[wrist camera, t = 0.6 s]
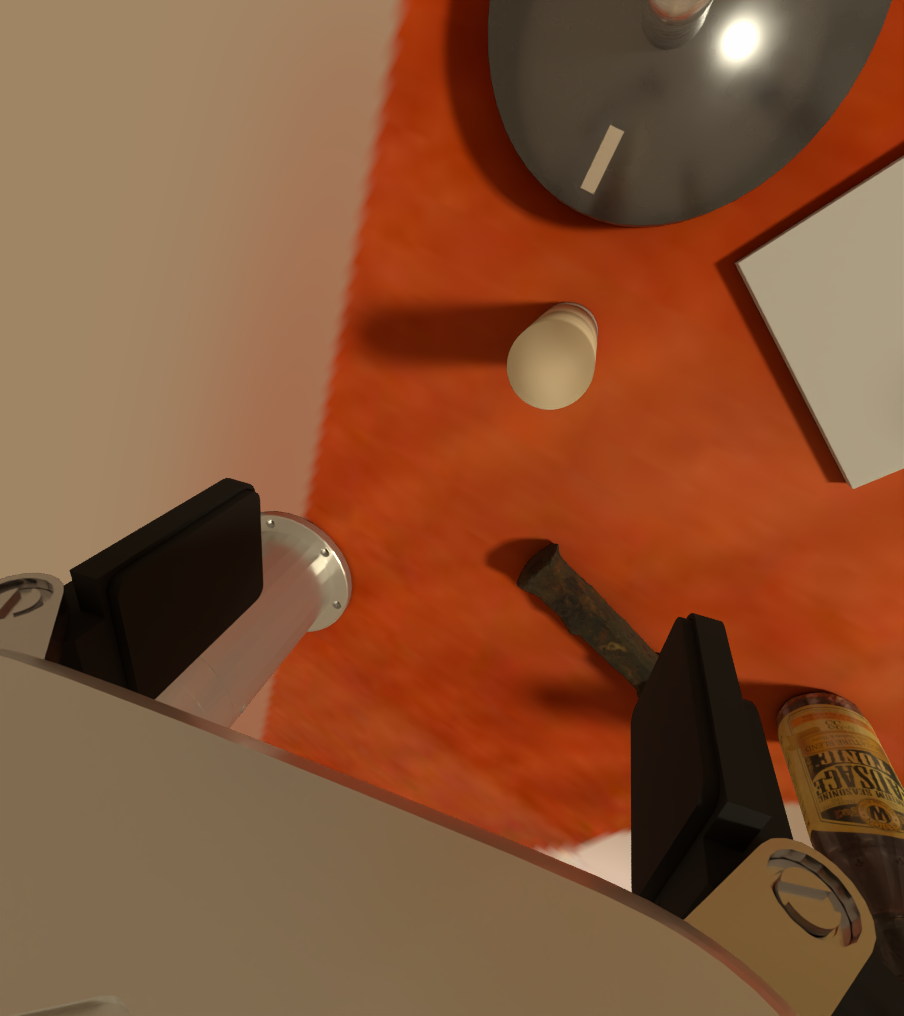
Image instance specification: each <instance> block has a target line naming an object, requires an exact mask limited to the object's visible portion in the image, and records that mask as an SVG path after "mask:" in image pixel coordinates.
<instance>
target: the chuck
mask: <svg viewBox="0 0 904 1016" xmlns="http://www.w3.org/2000/svg"><path fill="white" fill-rule="evenodd" d="M891 1H892V0H490V5H489V16H488V55H489V64H490V73H491V81H492V86H493V90H494V95H495V99H496V104H497V107H498V110H499V113H500V116H501V119H502V121H503V124H504V127H505V130H506V132H507V134H508V136H509V138H510V140H511V142H512V144H513V146H514V148H515V150H516V152H517V153H518V155H519V156H520V158H521V159H522V161H523V162H524V164H525V165H526V167H527V168H528V170H529V171H530V172H531V173H532V174H533V175H534V177H535V178H536V179H537V180H538V181H539V182H540V183H541V184H542V186H543V187H544V188H545V189H546V190H547V191H548V192H549V193H550V194H552V195H553V196H554V197H555V198H556V199H558V200H559V201H560V202H561V203H562V204H564V205H566V206H567V207H569V208H571V209H572V210H574V211H576V212H577V213H579V214H581V215H584V216H586V217H588V218H591V219H593V220H596V221H599V222H603V223H607V224H611V225H615V226H623V227H635V228H642V227H659V226H665V225H670V224H675V223H680V222H683V221H686V220H690V219H693V218H696V217H699V216H702V215H704V214H707V213H709V212H711V211H713V210H715V209H717V208H720V207H722V206H724V205H726V204H728V203H730V202H732V201H735V200H736V199H738V198H740V197H741V196H743V195H745V194H746V193H748V192H749V191H751V190H753V189H754V188H756V187H758V186H759V185H761V184H762V183H763V182H765V181H766V180H767V179H768V178H770V177H771V176H772V175H774V174H775V173H776V172H778V171H779V170H780V169H781V168H783V167H784V166H785V165H786V164H787V163H788V162H789V161H790V160H791V159H792V158H794V157H795V156H796V155H797V154H798V153H799V152H800V151H801V150H802V149H803V148H804V147H805V146H806V145H807V144H808V143H809V142H810V141H811V140H812V138H813V137H814V136H815V135H816V134H817V133H818V132H819V130H820V129H821V128H822V127H823V126H824V125H825V124H826V122H827V121H828V120H829V119H830V117H831V116H832V114H833V113H834V112H835V110H836V109H837V108H838V106H839V105H840V103H841V102H842V101H843V99H844V98H845V96H846V95H847V94H848V92H849V90H850V89H851V87H852V85H853V84H854V82H855V80H856V79H857V77H858V75H859V73H860V72H861V70H862V68H863V67H864V65H865V63H866V61H867V59H868V57H869V55H870V53H871V51H872V48H873V46H874V44H875V42H876V40H877V38H878V36H879V33H880V31H881V29H882V26H883V24H884V21H885V18H886V15H887V12H888V9H889V6H890V4H891Z"/></svg>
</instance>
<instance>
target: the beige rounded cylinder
mask: <svg viewBox="0 0 904 1016" xmlns="http://www.w3.org/2000/svg"><path fill="white" fill-rule="evenodd" d="M597 337H598V327H597V322H596V319H595V317H594V316H593V314H592V313H591V312H590V310H589V309H587V308H586V307H585V306H583V305H581V304H579V303H575V302H562V303H559V304H556V305H554V306H552V307H551V308H550V309H548V310H547V311H546V312H545V313H544V314H543V315H541V316H540V317H539V318H538V319H537V320H536V321H535V322H534V323H532V324H531V325H530V326H529V327H528V328H527V329H526V330H525V331H523V332H522V333H521V334H520V335H519V336H518V337H517V339H516V340H515V341H514V343H513V345H512V347H511V349H510V352H509V355H508V359H507V374H508V379H509V382H510V384H511V386H512V388H513V390H514V391H515V393H516V394H517V395H518V396H519V397H520V398H521V399H522V400H523V401H524V402H526V403H527V404H529V405H531V406H533V407H536V408H540V409H548V410H552V409H559V408H563V407H565V406H568V405H570V404H572V403H573V402H575V401H576V400H578V399H579V398H580V397H581V396H582V395H583V394H584V393H585V391H586V390H587V388H588V387H589V385H590V383H591V381H592V378H593V375H594V369H595V359H596V348H597Z"/></svg>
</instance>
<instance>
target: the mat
mask: <svg viewBox="0 0 904 1016" xmlns="http://www.w3.org/2000/svg"><path fill="white" fill-rule="evenodd" d="M735 265H736V267H737V269H738V271H739V273H740V275H741V277H742V279H743V281H744V283H745V285H746V287H747V289H748V291H749V293H750V295H751V297H752V299H753V300H754V302H755V304H756V306H757V308H758V310H759V312H760V314H761V316H762V318H763V320H764V322H765V324H766V326H767V328H768V330H769V332H770V334H771V336H772V338H773V340H774V342H775V344H776V346H777V348H778V350H779V351H780V353H781V355H782V357H783V359H784V361H785V363H786V365H787V367H788V369H789V371H790V373H791V375H792V377H793V379H794V381H795V383H796V385H797V387H798V389H799V391H800V393H801V395H802V397H803V399H804V401H805V402H806V404H807V406H808V408H809V410H810V412H811V414H812V416H813V418H814V420H815V422H816V424H817V426H818V428H819V430H820V432H821V434H822V436H823V438H824V440H825V442H826V444H827V446H828V448H829V450H830V452H831V454H832V455H833V457H834V459H835V461H836V463H837V465H838V467H839V469H840V471H841V473H842V475H843V477H844V479H845V481H846V483H847V484H848V485H849V486H850V487H851V488H852V489H854V488H857V487H859V486H862V485H864V484H867V483H869V482H871V481H874V480H876V479H879V478H881V477H884V476H886V475H888V474H891V473H893V472H896V471H898V470H901V469H903V468H904V155H903V156H902V157H900V158H899V159H897V160H895V161H894V162H892V163H891V164H889V165H888V166H886V167H885V168H883V169H881V170H880V171H878V172H877V173H875V174H874V175H872V176H870V177H869V178H867V179H866V180H864V181H863V182H861V183H859V184H858V185H856V186H855V187H853V188H852V189H850V190H848V191H847V192H845V193H844V194H842V195H841V196H839V197H837V198H836V199H834V200H833V201H831V202H830V203H828V204H826V205H825V206H823V207H822V208H820V209H819V210H817V211H815V212H814V213H812V214H811V215H809V216H808V217H806V218H804V219H803V220H801V221H800V222H798V223H797V224H795V225H793V226H792V227H790V228H789V229H787V230H786V231H784V232H782V233H781V234H779V235H778V236H776V237H775V238H773V239H771V240H770V241H768V242H767V243H765V244H764V245H762V246H760V247H759V248H757V249H756V250H754V251H753V252H751V253H750V254H748V255H746V256H745V257H743V258H742V259H740V260H739V261H737V262H735Z"/></svg>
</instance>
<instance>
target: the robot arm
mask: <svg viewBox="0 0 904 1016" xmlns="http://www.w3.org/2000/svg"><path fill="white" fill-rule="evenodd" d="M70 573H71V577H72V581H71V582H69V583H68V584H66V585H63V583H62V582H61V581H60V580H59V579H58V578H56V577H54V576H52V575H48V574H42V573H25V574H19V575H13V576H8V577H5V578H2V579H0V1016H904V984H903V983H902V982H901V981H900V980H899V979H898V978H897V977H896V976H895V975H894V974H893V973H892V971H891V970H890V969H889V968H888V967H887V966H886V965H885V964H884V963H883V962H882V961H881V960H880V959H879V958H878V957H877V956H876V955H875V953H874V952H873V948H874V944H875V941H876V934H875V927H874V921H873V918H872V916H871V914H870V911H869V909H868V907H867V904H866V902H865V900H864V899H863V897H862V896H861V894H860V893H859V891H858V890H857V888H856V887H855V886H854V884H853V883H852V882H851V880H850V879H849V878H848V877H847V876H846V875H845V874H844V873H843V872H842V871H841V870H840V869H839V868H838V867H837V866H836V865H835V864H834V863H833V862H831V861H830V860H829V859H827V858H826V857H825V856H824V855H822V854H821V853H820V852H818V851H816V850H815V849H812V848H811V847H809V846H807V845H805V844H803V843H801V842H798V841H794V840H793V837H792V834H791V830H790V826H789V823H788V819H787V815H786V812H785V808H784V804H783V801H782V797H781V793H780V790H779V786H778V782H777V779H776V775H775V771H774V768H773V764H772V760H771V757H770V753H769V749H768V746H767V742H766V739H765V735H764V731H763V728H762V724H761V720H760V717H759V713H758V711H757V708H756V706H755V705H754V704H753V703H752V702H751V701H748V700H745V699H742V695H741V691H740V687H739V683H738V679H737V675H736V671H735V667H734V663H733V659H732V655H731V651H730V647H729V643H728V639H727V635H726V631H725V626H724V624H723V622H721V621H718V620H715V619H711V618H708V617H704V616H701V615H698V614H694V613H691V614H689V616H688V617H687V619H685V618H682V617H678V618H677V619H676V621H675V623H674V625H673V627H672V629H671V631H670V633H669V635H668V638H667V640H666V642H665V644H664V646H663V648H662V650H661V652H660V655H659V657H658V659H657V661H656V663H655V665H654V667H653V670H652V672H651V674H650V676H649V678H648V680H647V682H646V684H645V687H644V689H643V691H642V693H641V695H640V697H639V699H638V702H637V704H636V706H635V708H634V711H633V715H632V720H631V877H632V878H631V880H632V882H631V883H632V892H629V891H627V890H625V889H623V888H621V887H619V886H617V885H615V884H613V883H611V882H608V881H606V880H604V879H602V878H600V877H598V876H595V875H593V874H591V873H588V872H586V871H583V870H581V869H579V868H576V867H574V866H571V865H569V864H567V863H564V862H562V861H559V860H557V859H555V858H552V857H550V856H548V855H545V854H543V853H540V852H538V851H536V850H533V849H531V848H528V847H526V846H524V845H521V844H519V843H516V842H514V841H512V840H509V839H507V838H504V837H502V836H499V835H497V834H494V833H492V832H489V831H487V830H484V829H482V828H479V827H477V826H474V825H472V824H469V823H467V822H464V821H462V820H459V819H457V818H454V817H452V816H449V815H447V814H444V813H442V812H439V811H437V810H434V809H432V808H429V807H427V806H424V805H422V804H419V803H417V802H414V801H412V800H409V799H407V798H404V797H402V796H399V795H397V794H394V793H392V792H389V791H387V790H384V789H382V788H379V787H377V786H374V785H372V784H369V783H367V782H364V781H361V780H359V779H356V778H354V777H351V776H349V775H346V774H344V773H341V772H339V771H336V770H333V769H331V768H328V767H326V766H323V765H321V764H318V763H316V762H313V761H311V760H308V759H306V758H303V757H300V756H298V755H295V754H293V753H290V752H288V751H285V750H283V749H280V748H278V747H275V746H272V745H270V744H267V743H265V742H262V741H260V740H257V739H254V738H252V737H249V736H247V735H244V734H242V733H239V732H237V731H234V730H232V729H229V728H230V727H231V725H232V724H233V723H234V722H235V721H236V719H237V718H238V717H239V716H240V714H241V713H242V712H243V711H244V709H245V708H246V707H247V706H248V704H249V703H250V702H251V701H252V699H253V698H254V697H255V696H256V694H257V693H258V692H259V691H260V689H261V688H262V687H263V686H264V684H265V683H266V682H267V681H268V679H269V678H270V677H271V676H272V674H273V673H274V672H275V671H276V669H277V668H278V667H279V666H280V664H281V663H282V662H283V661H284V659H285V658H286V657H287V656H288V654H289V653H290V652H291V651H292V649H293V648H294V647H295V646H296V644H297V643H298V642H299V641H300V639H301V638H302V637H303V636H304V634H305V633H306V632H311V631H318V630H321V629H324V628H327V627H328V626H330V625H331V624H333V623H334V622H336V621H337V619H338V618H339V617H340V616H341V615H342V613H343V612H344V610H345V609H346V607H347V606H348V603H349V601H350V598H351V591H352V582H351V574H350V571H349V568H348V565H347V562H346V560H345V558H344V556H343V554H342V553H341V551H340V550H339V548H338V547H337V546H336V544H335V543H334V542H333V541H332V540H331V539H330V538H329V537H328V536H327V535H326V534H325V533H324V532H323V531H322V530H321V529H319V528H318V527H317V526H315V525H314V524H312V523H311V522H309V521H307V520H305V519H303V518H301V517H298V516H296V515H293V514H290V513H284V512H278V511H270V512H262V513H260V497H259V495H258V493H256V492H255V489H254V488H253V486H252V485H251V484H248V483H244V482H241V481H237V480H234V479H231V478H225V479H223V480H221V481H219V482H218V483H216V484H214V485H213V486H211V487H209V488H208V489H206V490H205V491H202V492H201V493H199V494H197V495H196V496H194V497H192V498H191V499H189V500H187V501H186V502H184V503H182V504H181V505H179V506H177V507H175V508H174V509H172V510H170V511H169V512H167V513H165V514H164V515H162V516H160V517H159V518H157V519H155V520H153V521H152V522H150V523H149V524H147V525H145V526H144V527H142V528H140V529H138V530H137V531H135V532H133V533H132V534H130V535H128V536H126V537H125V538H123V539H122V540H120V541H118V542H117V543H115V544H113V545H111V546H110V547H108V548H106V549H105V550H103V551H101V552H100V553H98V554H96V555H94V556H93V557H91V558H89V559H88V560H86V561H85V562H83V563H81V564H79V565H78V566H76V567H74V568H72V569H71V570H70Z"/></svg>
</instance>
